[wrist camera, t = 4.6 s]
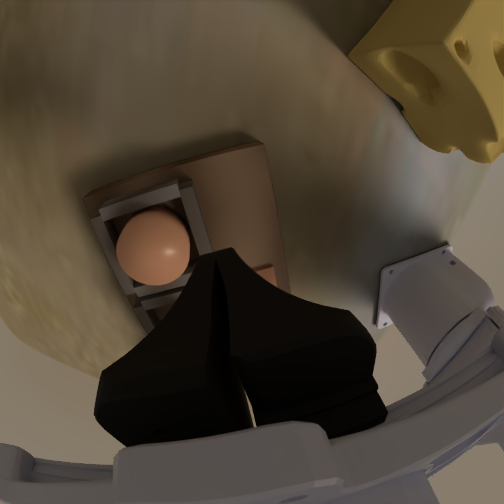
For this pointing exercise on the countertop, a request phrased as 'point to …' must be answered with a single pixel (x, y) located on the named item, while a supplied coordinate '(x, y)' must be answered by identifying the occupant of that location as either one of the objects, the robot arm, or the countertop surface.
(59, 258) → the countertop surface
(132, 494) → the robot arm
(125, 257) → the terracotta button
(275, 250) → the button panel
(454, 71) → the cheese
